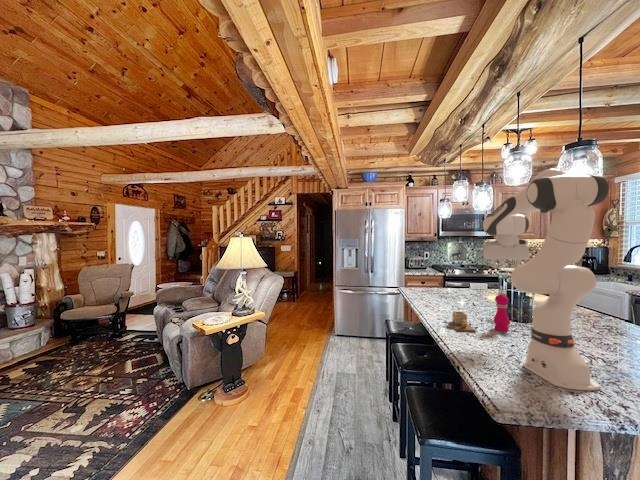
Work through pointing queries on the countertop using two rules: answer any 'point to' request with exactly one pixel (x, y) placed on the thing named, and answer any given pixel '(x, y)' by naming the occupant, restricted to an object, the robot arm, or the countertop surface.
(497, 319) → the pepper mill
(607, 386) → the countertop surface
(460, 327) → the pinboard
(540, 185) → the robot arm
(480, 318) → the countertop surface
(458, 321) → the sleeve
